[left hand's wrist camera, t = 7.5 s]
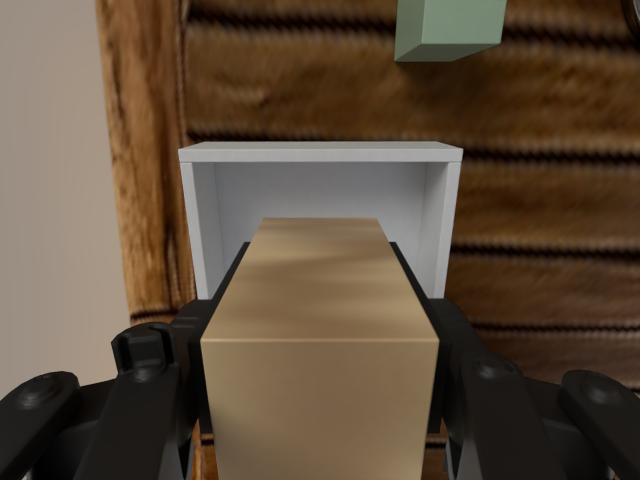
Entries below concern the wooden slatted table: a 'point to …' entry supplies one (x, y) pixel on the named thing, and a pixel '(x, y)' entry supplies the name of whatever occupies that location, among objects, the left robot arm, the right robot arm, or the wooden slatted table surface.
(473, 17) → the sage block
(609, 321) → the wooden slatted table surface
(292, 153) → the tray
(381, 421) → the birch block
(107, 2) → the wooden slatted table surface
